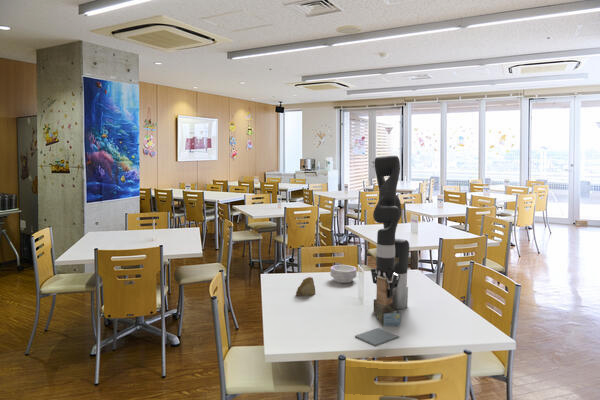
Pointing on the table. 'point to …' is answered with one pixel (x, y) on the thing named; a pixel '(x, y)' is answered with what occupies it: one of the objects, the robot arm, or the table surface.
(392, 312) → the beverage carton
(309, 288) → the rock
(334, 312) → the table surface
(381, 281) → the walnut block
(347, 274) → the paper bowls
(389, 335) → the slate mat
